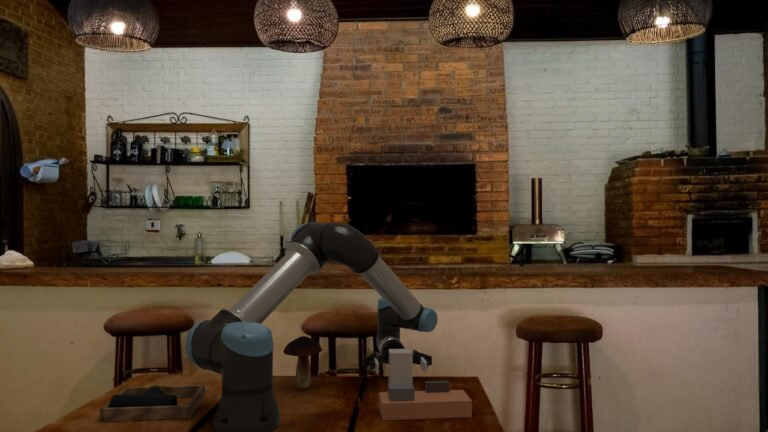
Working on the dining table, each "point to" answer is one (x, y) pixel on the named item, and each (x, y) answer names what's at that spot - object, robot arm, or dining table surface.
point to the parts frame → (155, 411)
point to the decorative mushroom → (303, 358)
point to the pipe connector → (145, 399)
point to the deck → (423, 402)
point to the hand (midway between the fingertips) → (401, 368)
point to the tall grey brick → (400, 366)
